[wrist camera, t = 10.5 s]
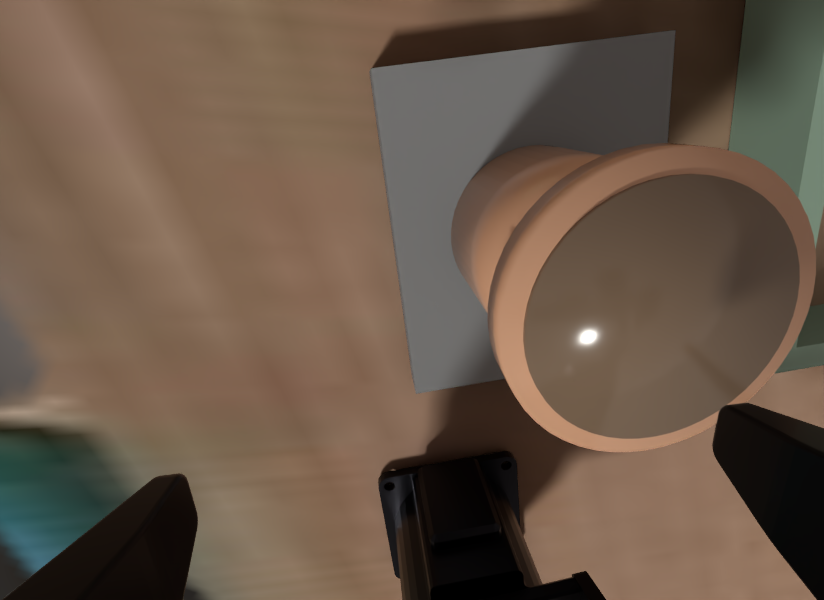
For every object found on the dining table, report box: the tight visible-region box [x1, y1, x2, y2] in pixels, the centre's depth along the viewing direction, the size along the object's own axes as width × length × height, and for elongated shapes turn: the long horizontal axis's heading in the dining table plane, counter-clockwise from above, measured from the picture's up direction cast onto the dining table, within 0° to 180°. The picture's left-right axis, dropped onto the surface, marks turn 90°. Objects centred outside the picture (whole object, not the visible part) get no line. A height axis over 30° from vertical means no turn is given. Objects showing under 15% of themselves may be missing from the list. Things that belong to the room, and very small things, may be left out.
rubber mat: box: [370, 30, 676, 394], centre depth 19 cm, size 12×10×2 cm
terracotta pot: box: [451, 143, 816, 452], centre depth 14 cm, size 7×7×8 cm
